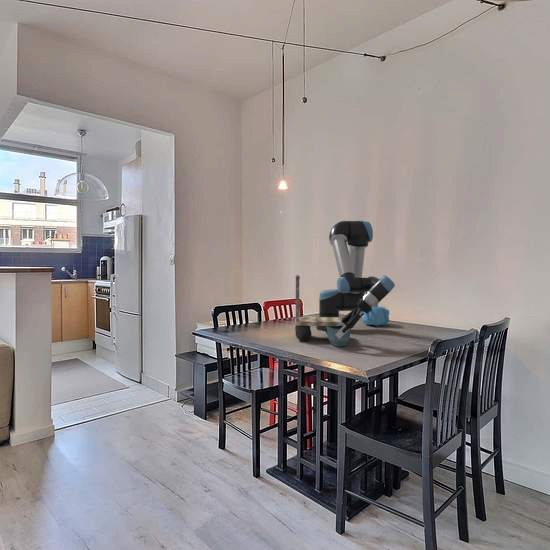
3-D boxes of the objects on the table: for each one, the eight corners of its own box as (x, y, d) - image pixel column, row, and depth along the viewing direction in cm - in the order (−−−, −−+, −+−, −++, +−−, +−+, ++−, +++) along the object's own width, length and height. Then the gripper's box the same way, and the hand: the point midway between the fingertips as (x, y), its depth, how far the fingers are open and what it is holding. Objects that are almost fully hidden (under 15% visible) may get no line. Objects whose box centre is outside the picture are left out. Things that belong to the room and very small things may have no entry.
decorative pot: (362, 327, 245) (362, 304, 245) (361, 322, 261) (361, 302, 260) (390, 327, 242) (390, 305, 242) (387, 323, 258) (387, 302, 258)
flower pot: (325, 344, 193) (326, 326, 193) (341, 343, 196) (342, 325, 196) (334, 348, 185) (334, 329, 185) (351, 347, 188) (351, 328, 188)
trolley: (339, 335, 216) (340, 274, 215) (343, 341, 200) (344, 276, 199) (295, 335, 217) (295, 274, 215) (295, 341, 201) (295, 275, 200)
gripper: (356, 295, 202) (327, 325, 202) (366, 299, 177) (332, 333, 177) (367, 306, 202) (337, 335, 202) (378, 311, 177) (344, 344, 177)
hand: (335, 334), depth 190 cm, fingers open, 13 cm apart
